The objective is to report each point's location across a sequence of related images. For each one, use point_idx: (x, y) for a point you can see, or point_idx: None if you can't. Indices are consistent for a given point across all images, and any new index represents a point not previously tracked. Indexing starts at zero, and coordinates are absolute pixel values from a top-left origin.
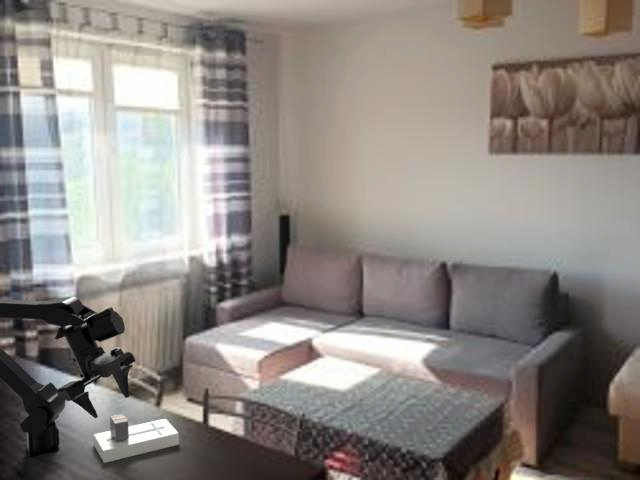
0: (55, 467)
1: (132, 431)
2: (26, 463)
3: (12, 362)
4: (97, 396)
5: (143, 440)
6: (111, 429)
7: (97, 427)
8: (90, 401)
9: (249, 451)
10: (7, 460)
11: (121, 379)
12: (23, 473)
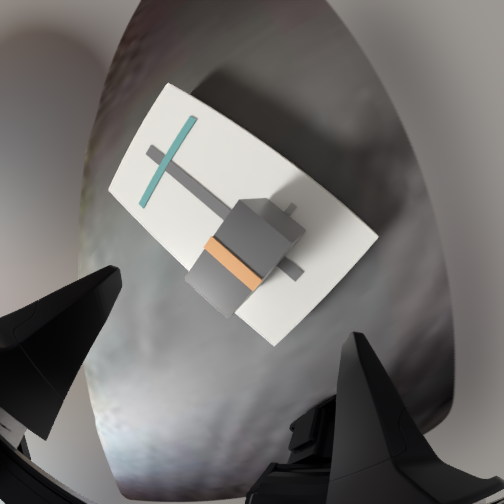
0: (420, 350)
1: (206, 229)
2: None
3: None
4: (109, 408)
5: (250, 143)
6: (258, 286)
7: (190, 369)
8: (388, 434)
9: None
10: None
11: (36, 354)
12: (450, 392)
